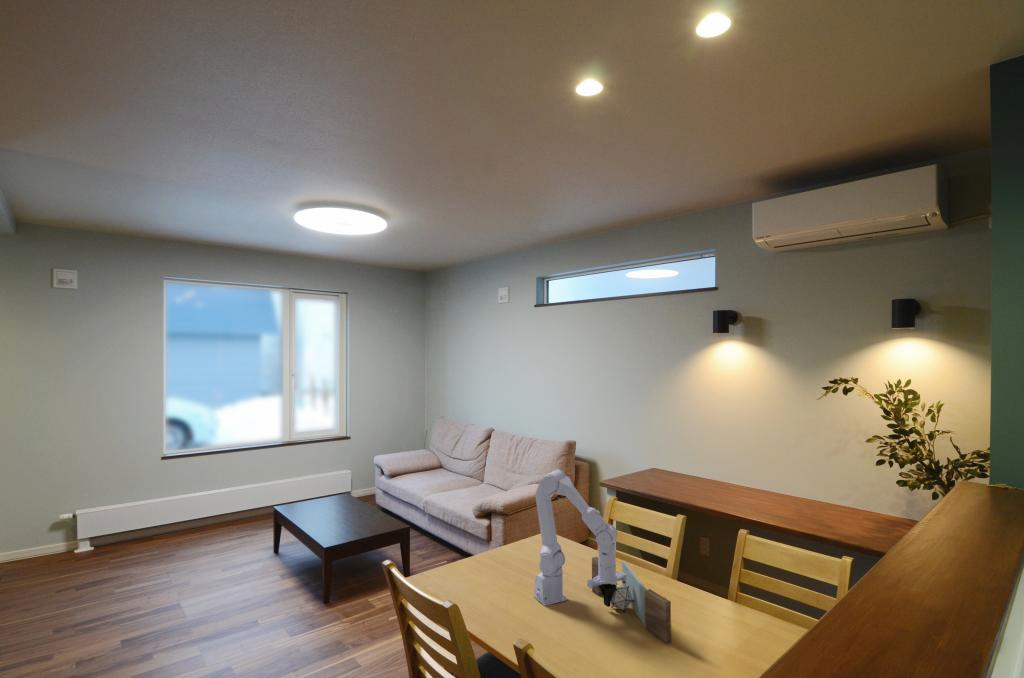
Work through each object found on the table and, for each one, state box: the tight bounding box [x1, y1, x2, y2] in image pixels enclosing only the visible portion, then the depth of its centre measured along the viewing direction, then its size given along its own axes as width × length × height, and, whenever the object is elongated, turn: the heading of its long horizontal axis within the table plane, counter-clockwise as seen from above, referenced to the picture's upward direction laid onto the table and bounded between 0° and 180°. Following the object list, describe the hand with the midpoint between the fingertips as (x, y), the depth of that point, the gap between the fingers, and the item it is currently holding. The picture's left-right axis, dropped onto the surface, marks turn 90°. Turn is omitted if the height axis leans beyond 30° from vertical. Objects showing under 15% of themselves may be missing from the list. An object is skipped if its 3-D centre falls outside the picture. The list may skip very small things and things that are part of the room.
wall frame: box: [591, 556, 672, 645], centre depth 168 cm, size 2×38×12 cm, turn 26°
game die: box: [610, 581, 634, 614], centre depth 171 cm, size 9×8×10 cm
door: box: [621, 560, 648, 627], centre depth 171 cm, size 2×24×11 cm, turn 5°
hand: (607, 605), depth 170 cm, fingers closed
